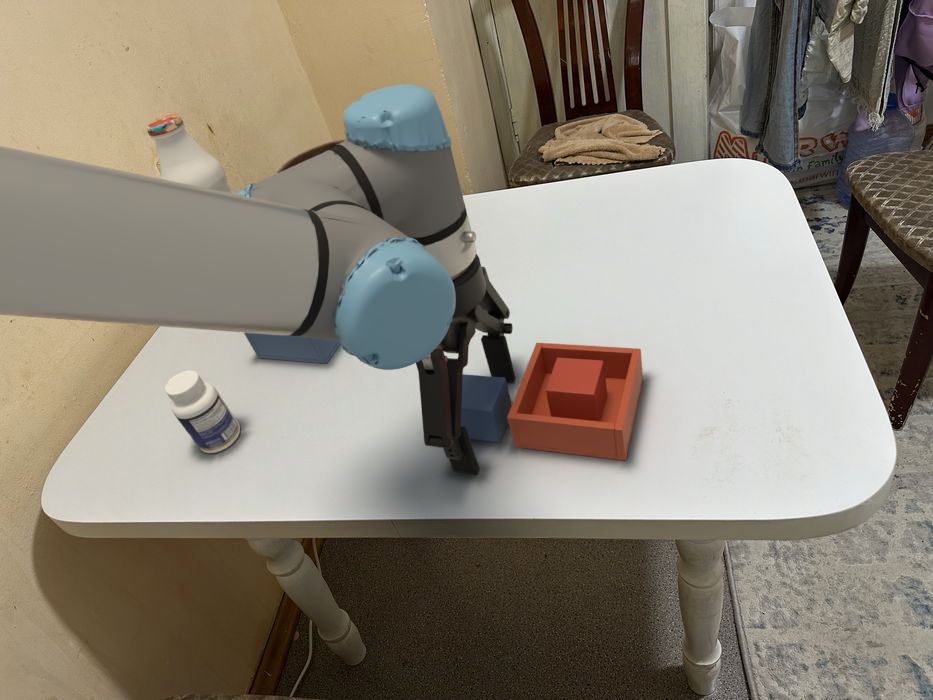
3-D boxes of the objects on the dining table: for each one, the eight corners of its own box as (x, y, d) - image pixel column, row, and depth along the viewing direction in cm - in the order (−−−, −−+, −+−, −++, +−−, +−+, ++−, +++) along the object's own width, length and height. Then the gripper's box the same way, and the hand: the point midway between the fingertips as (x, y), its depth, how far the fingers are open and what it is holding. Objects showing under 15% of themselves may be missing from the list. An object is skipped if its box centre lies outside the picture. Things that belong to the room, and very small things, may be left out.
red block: (552, 423, 70) (545, 390, 67) (562, 390, 74) (556, 357, 71) (598, 428, 68) (593, 394, 65) (607, 393, 72) (603, 360, 69)
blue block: (457, 437, 73) (447, 406, 69) (472, 405, 76) (462, 373, 73) (500, 443, 71) (491, 411, 68) (513, 409, 74) (505, 377, 71)
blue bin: (257, 358, 93) (243, 333, 90) (299, 306, 100) (287, 282, 97) (327, 363, 88) (314, 337, 85) (364, 309, 96) (354, 283, 93)
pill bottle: (196, 435, 83) (155, 380, 77) (236, 414, 84) (199, 358, 78) (203, 461, 79) (161, 405, 73) (245, 440, 80) (207, 383, 74)
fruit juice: (225, 309, 105) (129, 143, 87) (218, 282, 112) (128, 123, 94) (281, 285, 106) (198, 117, 88) (271, 260, 113) (192, 100, 96)
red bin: (514, 447, 70) (506, 417, 67) (542, 371, 78) (536, 342, 75) (625, 460, 65) (622, 430, 62) (643, 379, 73) (640, 348, 70)
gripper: (424, 360, 50) (483, 521, 63) (515, 192, 67) (546, 348, 80) (340, 354, 53) (413, 509, 66) (448, 195, 69) (489, 345, 83)
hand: (486, 422), depth 73 cm, fingers open, 13 cm apart
